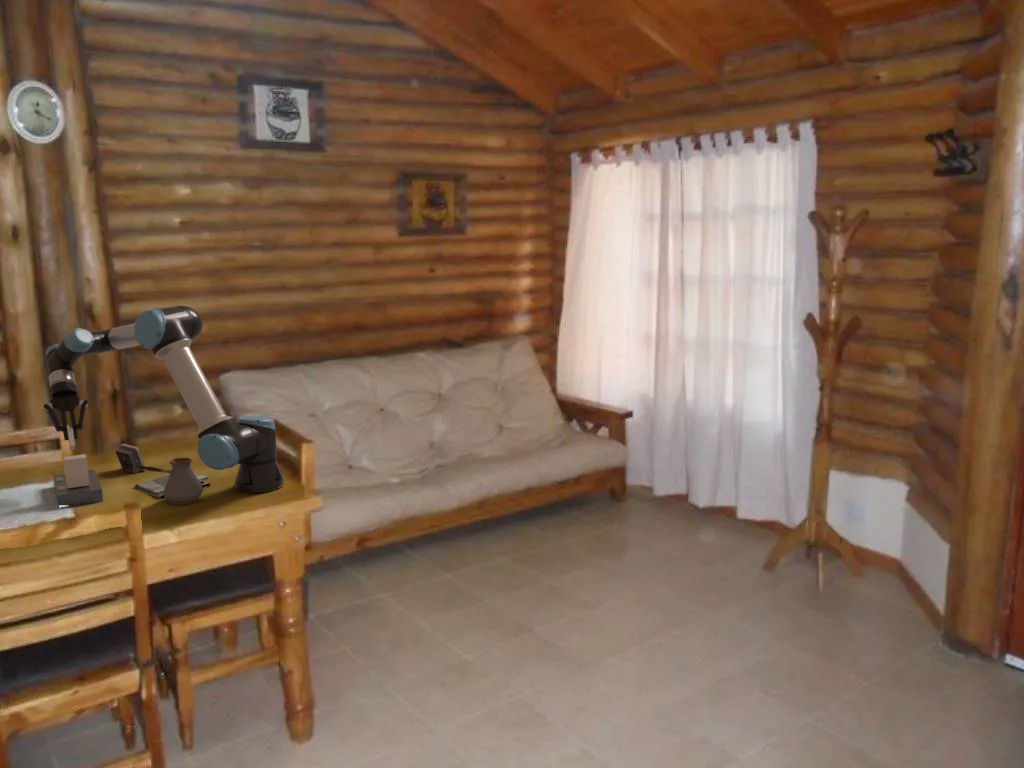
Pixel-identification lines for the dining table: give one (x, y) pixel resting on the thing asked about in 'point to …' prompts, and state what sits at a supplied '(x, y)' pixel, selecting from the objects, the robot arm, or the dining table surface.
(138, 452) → the electrical switch
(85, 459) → the handle
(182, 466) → the coffee pot
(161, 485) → the dish towel
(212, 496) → the dining table surface
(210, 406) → the robot arm
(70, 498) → the box
